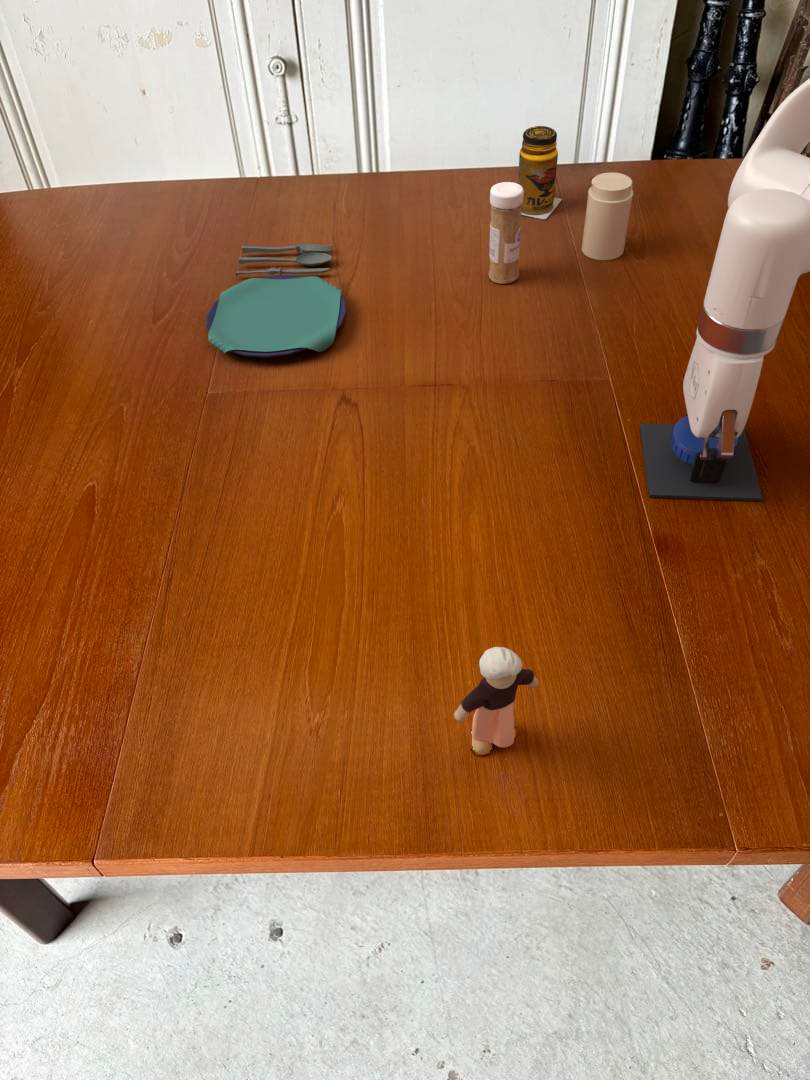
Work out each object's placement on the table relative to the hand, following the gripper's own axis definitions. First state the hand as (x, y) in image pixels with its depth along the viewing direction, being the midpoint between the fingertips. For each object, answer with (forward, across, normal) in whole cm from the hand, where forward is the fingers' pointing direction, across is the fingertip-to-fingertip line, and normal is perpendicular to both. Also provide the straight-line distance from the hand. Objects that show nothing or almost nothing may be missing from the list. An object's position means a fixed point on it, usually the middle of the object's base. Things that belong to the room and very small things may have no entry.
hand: (699, 456), depth 93 cm
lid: (-3, 0, 0) cm, 3 cm away
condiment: (+1, -61, -19) cm, 64 cm away
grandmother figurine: (+1, +36, -22) cm, 42 cm away
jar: (+1, -47, -8) cm, 48 cm away
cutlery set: (+1, -31, -55) cm, 63 cm away
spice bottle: (+1, -39, -23) cm, 45 cm away
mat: (+1, 0, 0) cm, 1 cm away
